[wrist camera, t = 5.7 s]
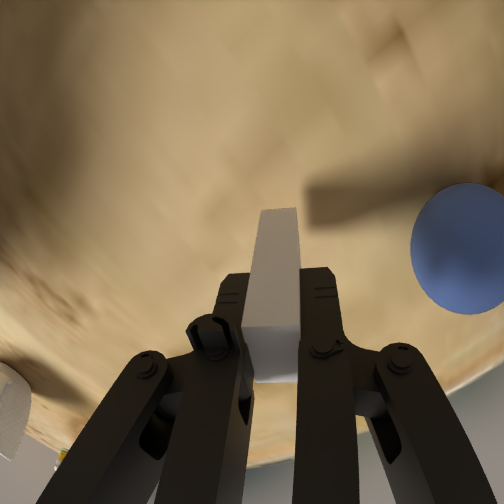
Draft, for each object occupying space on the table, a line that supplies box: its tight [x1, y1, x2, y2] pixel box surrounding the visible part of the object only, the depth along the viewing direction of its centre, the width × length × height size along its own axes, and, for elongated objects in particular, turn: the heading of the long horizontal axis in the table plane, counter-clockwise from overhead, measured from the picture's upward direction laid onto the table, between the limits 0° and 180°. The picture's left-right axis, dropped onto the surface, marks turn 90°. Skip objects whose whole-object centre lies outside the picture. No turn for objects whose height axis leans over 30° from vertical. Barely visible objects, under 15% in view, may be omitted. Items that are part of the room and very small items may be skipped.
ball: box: [411, 183, 504, 315], centre depth 12 cm, size 6×6×6 cm
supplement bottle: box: [54, 448, 69, 471], centre depth 56 cm, size 5×5×10 cm
